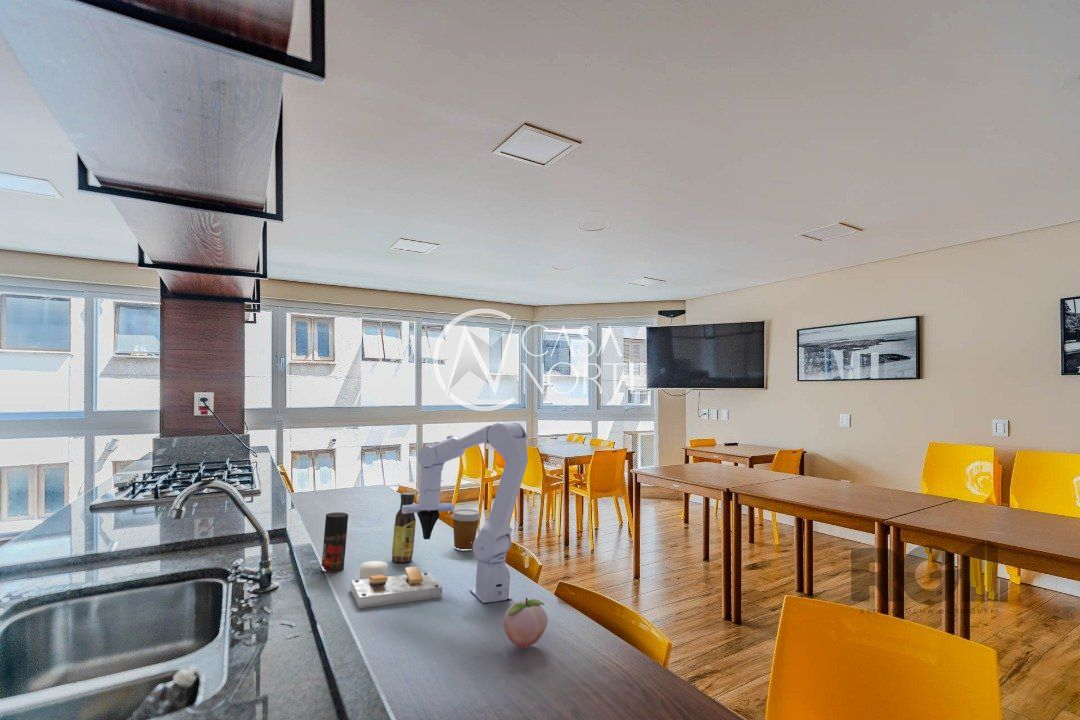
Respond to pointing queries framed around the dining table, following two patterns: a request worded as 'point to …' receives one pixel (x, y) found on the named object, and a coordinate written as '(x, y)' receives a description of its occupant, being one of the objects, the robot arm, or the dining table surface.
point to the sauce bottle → (404, 532)
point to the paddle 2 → (413, 575)
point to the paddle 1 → (378, 578)
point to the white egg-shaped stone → (373, 569)
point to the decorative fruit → (525, 622)
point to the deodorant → (334, 542)
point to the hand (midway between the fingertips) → (426, 538)
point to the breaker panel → (394, 590)
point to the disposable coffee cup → (465, 527)
